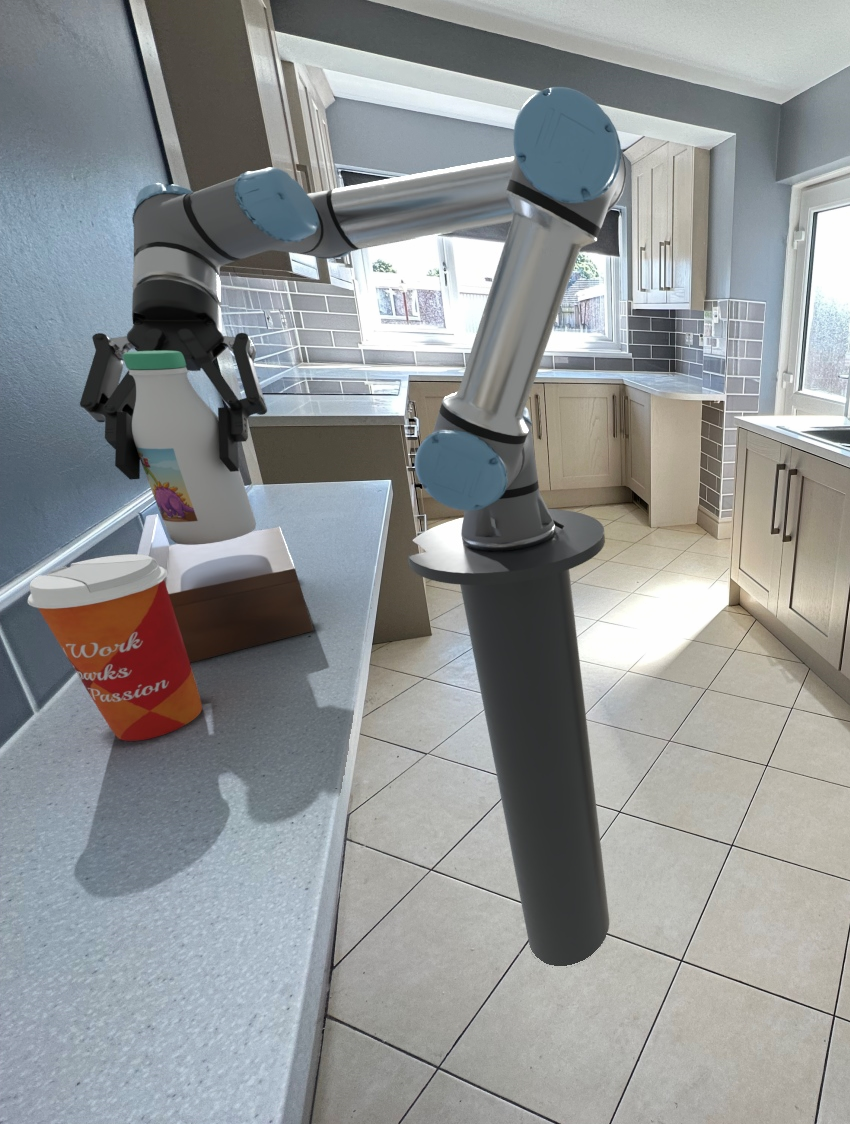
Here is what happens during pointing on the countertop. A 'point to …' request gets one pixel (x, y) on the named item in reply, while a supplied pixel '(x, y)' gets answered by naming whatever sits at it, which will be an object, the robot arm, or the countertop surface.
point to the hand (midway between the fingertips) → (179, 468)
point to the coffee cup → (122, 641)
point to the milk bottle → (184, 454)
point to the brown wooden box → (229, 590)
